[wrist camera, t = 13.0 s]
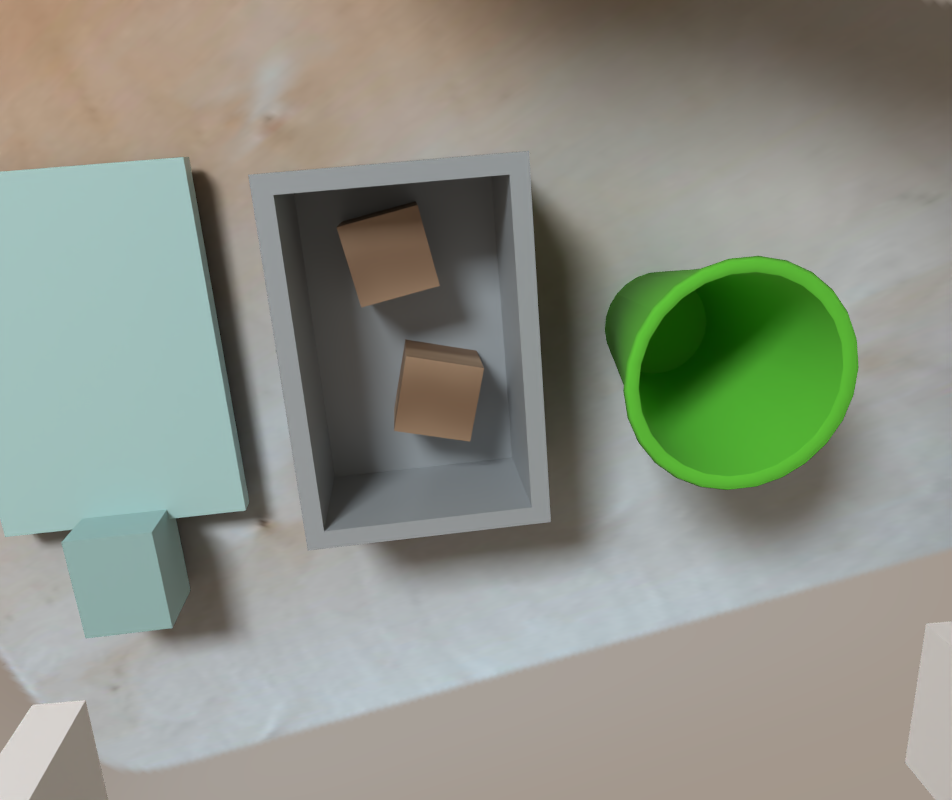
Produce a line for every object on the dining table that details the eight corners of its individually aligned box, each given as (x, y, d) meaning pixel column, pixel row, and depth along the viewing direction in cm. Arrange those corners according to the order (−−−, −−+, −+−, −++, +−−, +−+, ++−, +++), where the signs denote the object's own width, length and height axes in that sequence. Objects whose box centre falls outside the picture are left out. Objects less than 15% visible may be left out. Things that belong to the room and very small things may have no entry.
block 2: (405, 339, 39) (406, 356, 35) (476, 350, 39) (484, 368, 36) (394, 408, 39) (394, 431, 36) (463, 418, 40) (470, 441, 37)
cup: (663, 440, 42) (752, 533, 32) (529, 342, 40) (576, 407, 30) (776, 303, 41) (909, 352, 30) (643, 193, 38) (735, 205, 28)
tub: (275, 172, 37) (248, 174, 30) (505, 152, 37) (528, 151, 31) (322, 487, 41) (307, 550, 34) (526, 464, 42) (550, 522, 35)
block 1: (341, 221, 37) (336, 227, 33) (415, 201, 37) (417, 205, 33) (364, 294, 38) (361, 307, 34) (435, 274, 38) (439, 285, 34)
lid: (-67, 178, 36) (-131, 180, 31) (194, 157, 36) (167, 156, 32) (44, 598, 42) (4, 648, 37) (266, 572, 42) (251, 618, 38)
